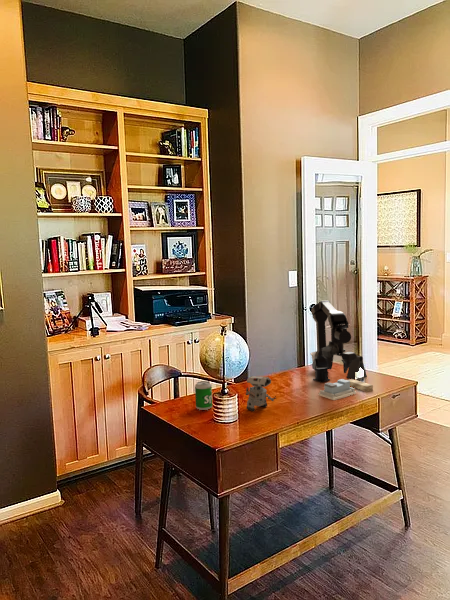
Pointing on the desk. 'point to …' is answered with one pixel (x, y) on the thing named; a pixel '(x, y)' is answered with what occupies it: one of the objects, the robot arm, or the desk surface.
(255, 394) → the figurine
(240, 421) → the desk surface
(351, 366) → the phone stand
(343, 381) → the light blue block
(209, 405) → the soda can
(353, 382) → the tan rectangular bar
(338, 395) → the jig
